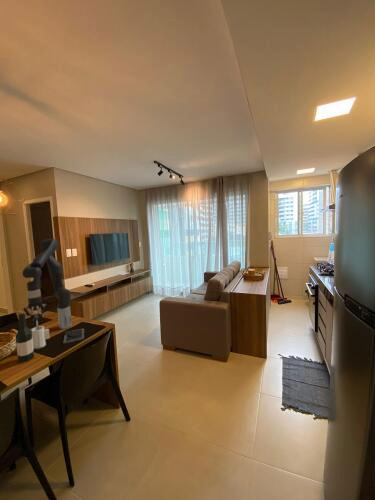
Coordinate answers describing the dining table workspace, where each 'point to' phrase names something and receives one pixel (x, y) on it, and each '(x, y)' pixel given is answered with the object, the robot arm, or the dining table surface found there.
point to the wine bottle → (24, 341)
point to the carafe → (39, 337)
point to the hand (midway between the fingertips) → (36, 319)
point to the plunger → (36, 319)
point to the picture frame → (73, 336)
